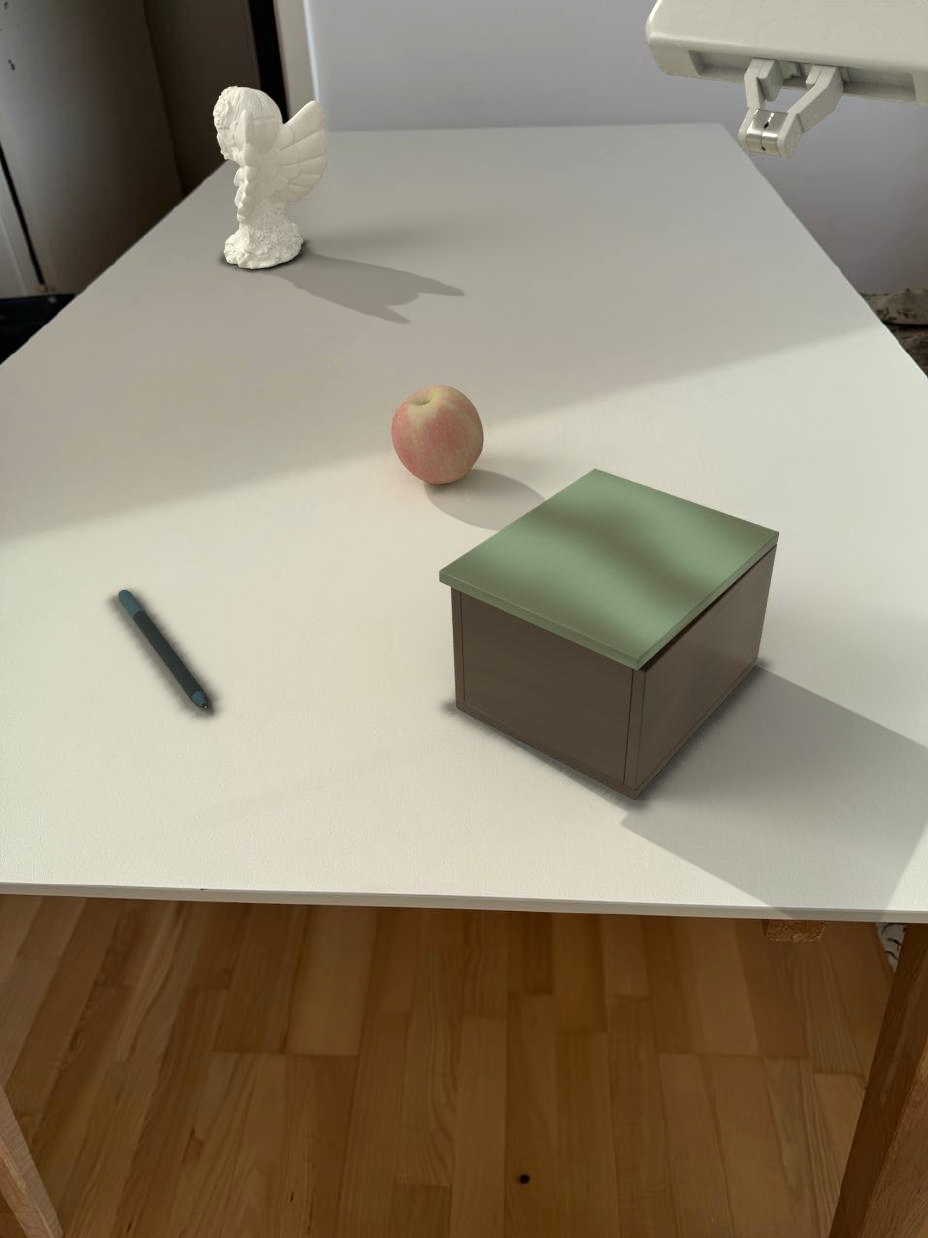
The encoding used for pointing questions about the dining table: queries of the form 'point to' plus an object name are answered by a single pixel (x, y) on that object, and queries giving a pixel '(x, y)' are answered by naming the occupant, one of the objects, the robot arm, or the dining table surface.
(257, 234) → the cherub figurine
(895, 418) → the dining table surface
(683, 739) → the coldframe
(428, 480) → the apple
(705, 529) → the lid
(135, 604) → the pen
